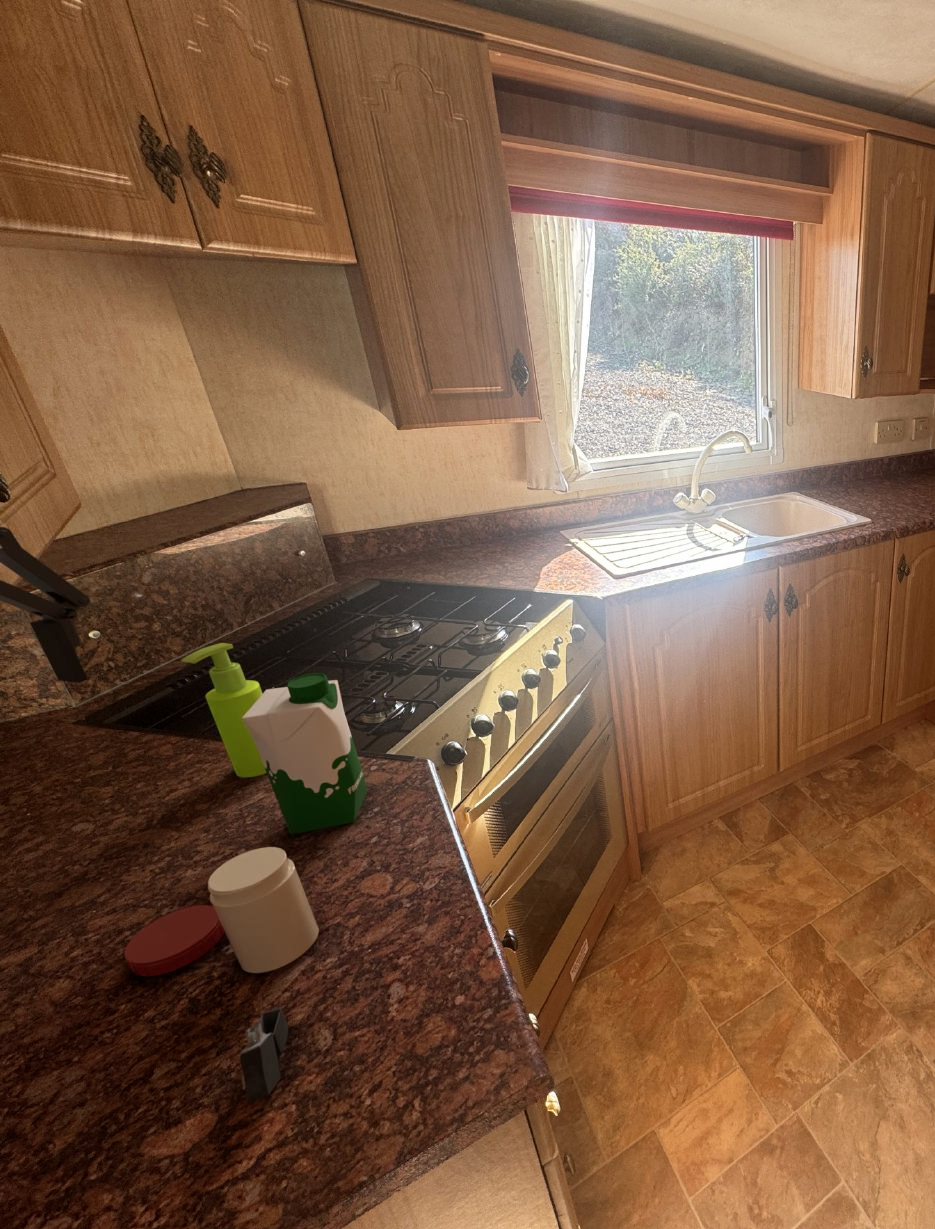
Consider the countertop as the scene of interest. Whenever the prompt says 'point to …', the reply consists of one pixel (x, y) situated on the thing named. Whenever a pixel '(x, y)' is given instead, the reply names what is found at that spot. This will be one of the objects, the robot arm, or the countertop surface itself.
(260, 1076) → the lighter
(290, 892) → the jam jar
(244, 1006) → the countertop surface
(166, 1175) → the countertop surface
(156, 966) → the jam lid
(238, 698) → the soap dispenser
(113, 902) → the countertop surface
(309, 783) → the milk carton
